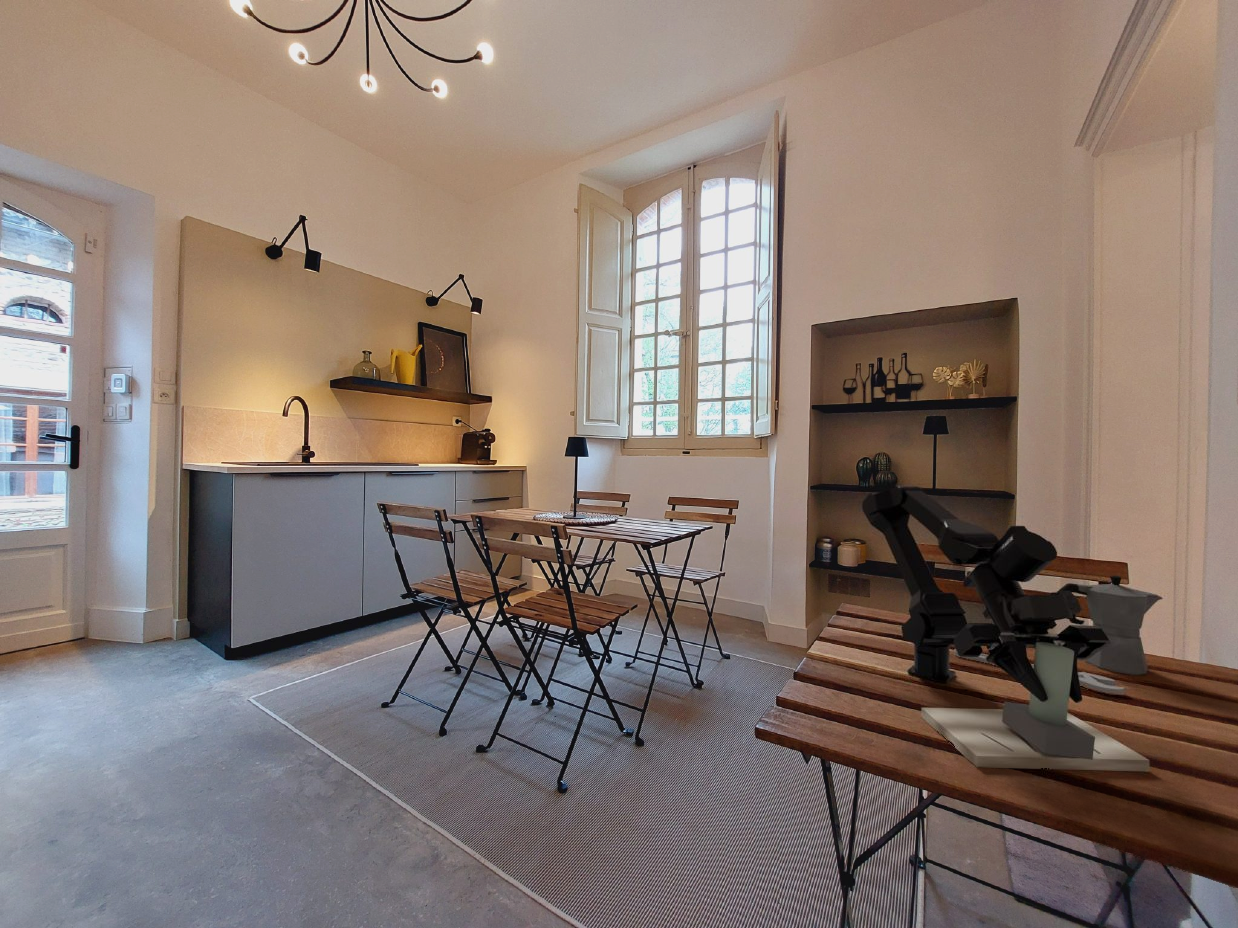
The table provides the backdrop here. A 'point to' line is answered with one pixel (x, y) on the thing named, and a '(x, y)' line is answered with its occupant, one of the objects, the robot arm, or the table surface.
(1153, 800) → the table surface
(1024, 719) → the block
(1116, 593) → the coffeepot
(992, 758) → the birch board
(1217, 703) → the table surface
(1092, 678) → the adjustable wrench
